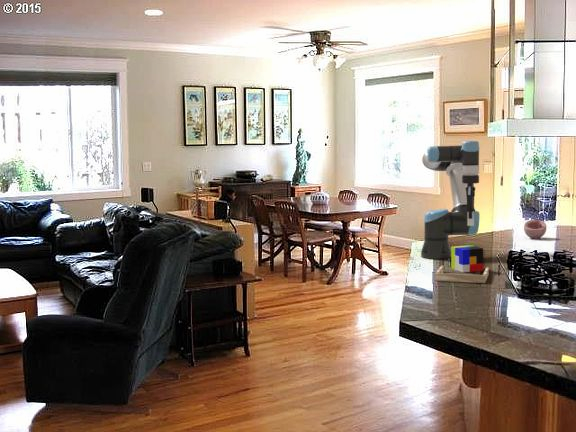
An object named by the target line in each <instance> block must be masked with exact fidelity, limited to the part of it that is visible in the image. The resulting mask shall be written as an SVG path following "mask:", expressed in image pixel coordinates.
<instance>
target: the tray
mask: <svg viewBox="0 0 576 432" xmlns="http://www.w3.org/2000/svg"><path fill="white" fill-rule="evenodd" d="M444 267H445V266H444V265H440V266H439V267H438V269H437V270H436V271H435V272H434V281H437V282H456V283H479V284H486V282H487V279H488V277H489V274H490V273H489V271H490V270H489V269H490V268H489V267H485V270H483V273H482V274H463V273H446V272H445V273H444V271H445V270H444V269H445V268H444Z"/></svg>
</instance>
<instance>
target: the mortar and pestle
mask: <svg viewBox="0 0 576 432" xmlns="http://www.w3.org/2000/svg"><path fill="white" fill-rule="evenodd" d="M523 231H524V233H525V235H526V236H527V237H529V238H530V239H535V240H537V239H540V238H542V237H543V236H544V235H546V231H547V224H546V222H544V221H543V220H539V219H537V218H534V219H530V220H528V221H526V222H525V223H524V226H523Z"/></svg>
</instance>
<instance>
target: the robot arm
mask: <svg viewBox="0 0 576 432" xmlns="http://www.w3.org/2000/svg"><path fill="white" fill-rule="evenodd" d="M421 162H422V164H423V166H424V167H425V168H427V169H429V170H432V171H435V172H445V174H446V175H447V176H448V177H449V183H450V184H449V185H450V190H451V197H452V198H451V199H452V207H453V208H451V210H450V211H449V209H447V208H443V209H442V208H439V209H432V210H429V211H426V212H425V213H424V220H423V223H424V226H423V227H424V229H423V230H424V231H423V232H424V236H423V237H424V241H423V245H422V248H421V250H420V251H421V252H420V257H422V258H425V259H429V260H430V259H433V260H434V259H435V260H439V259H441V260H442V259H451V245H450V242H449V236H475V235H476V234H478V232H479V227H480V212H479V211H478V210H476V209H475V196H476V194H475V193H476V186H475V184H479V183H480V175H479V174H480V143H479V141H477V140H465V141H462V143H461V145H431V146H428V147H427V150H426V152H425V153H424V154H423V156H422V161H421Z"/></svg>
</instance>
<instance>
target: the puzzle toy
mask: <svg viewBox="0 0 576 432" xmlns="http://www.w3.org/2000/svg"><path fill="white" fill-rule="evenodd" d="M450 248H451V257H450V260H451V262H450V263H451V264H450V266H451V267H450V268H451V269H452V270H454V271H457V270H458V271H457V272H461V273H471V272H481V271H483V272H484V248H483V247H480V246H476V245H471V244H470V245H469V244H467V245H456V246H450Z"/></svg>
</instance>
